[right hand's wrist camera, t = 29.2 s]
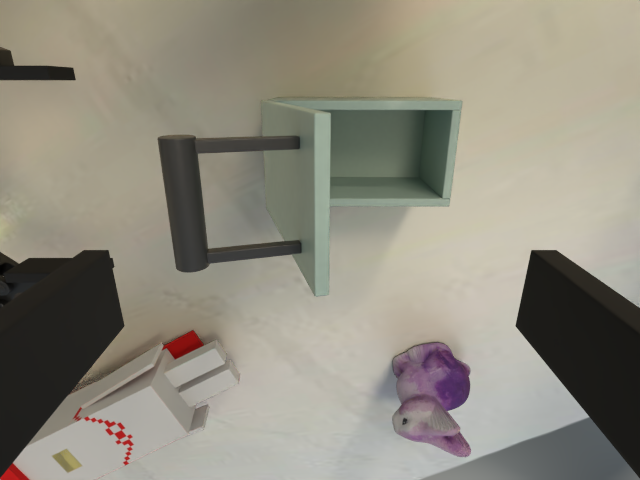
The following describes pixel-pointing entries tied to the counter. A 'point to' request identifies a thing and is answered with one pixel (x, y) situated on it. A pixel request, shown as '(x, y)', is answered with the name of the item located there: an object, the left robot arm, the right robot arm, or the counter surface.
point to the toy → (128, 413)
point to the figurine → (431, 396)
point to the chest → (389, 148)
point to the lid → (280, 190)
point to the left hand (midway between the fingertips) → (86, 180)
